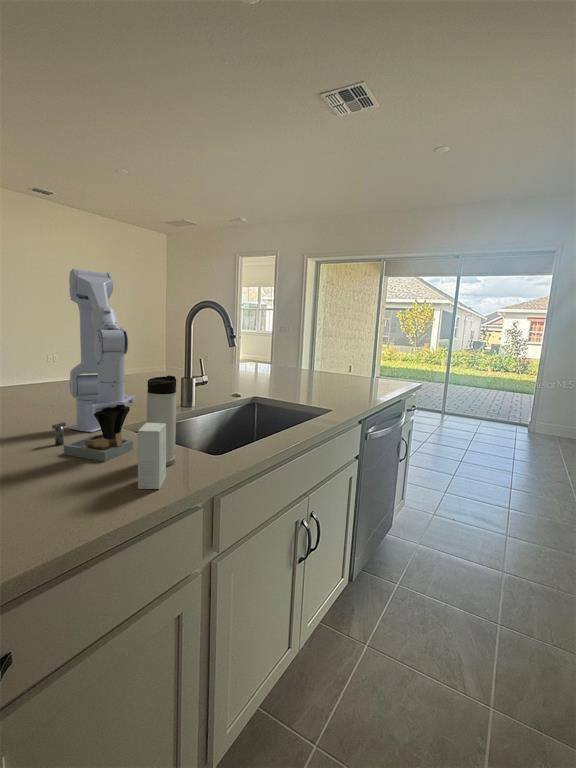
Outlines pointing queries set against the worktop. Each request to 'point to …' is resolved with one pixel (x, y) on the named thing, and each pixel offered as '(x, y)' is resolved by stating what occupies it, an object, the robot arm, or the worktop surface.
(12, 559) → the worktop surface
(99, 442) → the ring
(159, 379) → the travel mug
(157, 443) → the skincare box
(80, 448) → the tray
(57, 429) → the bolt
